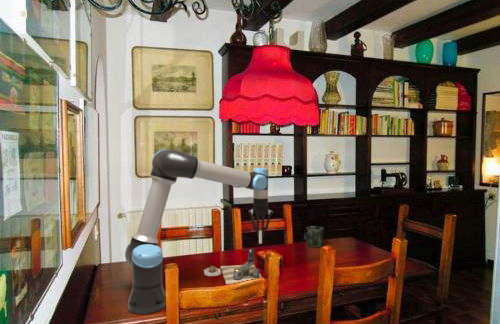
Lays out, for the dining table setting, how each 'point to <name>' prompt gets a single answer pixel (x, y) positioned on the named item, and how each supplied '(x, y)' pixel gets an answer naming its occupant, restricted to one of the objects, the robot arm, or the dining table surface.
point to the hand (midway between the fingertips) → (260, 242)
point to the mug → (314, 236)
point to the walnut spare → (212, 269)
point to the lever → (245, 265)
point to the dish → (212, 273)
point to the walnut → (251, 272)
